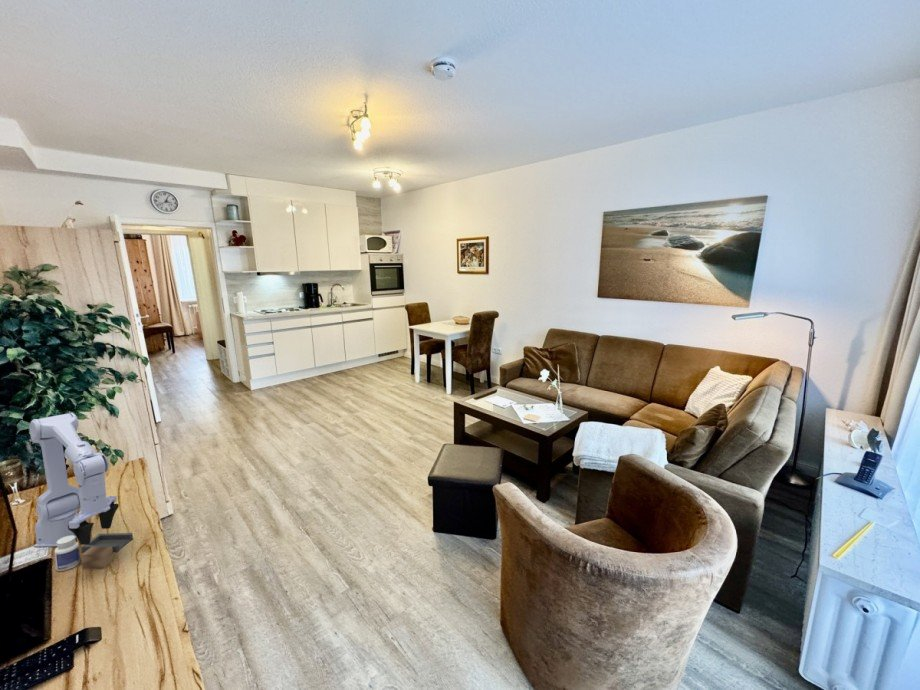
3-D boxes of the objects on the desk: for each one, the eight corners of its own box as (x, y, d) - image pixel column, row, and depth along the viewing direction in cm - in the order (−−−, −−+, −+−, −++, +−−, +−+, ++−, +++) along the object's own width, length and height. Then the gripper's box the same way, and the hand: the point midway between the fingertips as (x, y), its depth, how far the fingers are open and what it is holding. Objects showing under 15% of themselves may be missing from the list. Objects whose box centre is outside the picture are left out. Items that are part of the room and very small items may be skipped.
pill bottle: (84, 562, 117) (82, 536, 116) (62, 573, 112) (59, 546, 111) (73, 557, 119) (71, 532, 118) (51, 568, 114) (49, 542, 113)
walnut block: (82, 569, 114) (81, 554, 114) (92, 561, 118) (91, 546, 117) (104, 568, 115) (103, 554, 115) (113, 560, 119) (112, 546, 118)
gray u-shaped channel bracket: (81, 553, 121) (80, 547, 121) (99, 539, 128) (99, 533, 128) (116, 552, 122) (116, 546, 122) (132, 538, 129) (132, 533, 129)
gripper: (86, 508, 107) (89, 551, 109) (125, 483, 121) (128, 521, 123) (59, 508, 106) (63, 551, 108) (102, 483, 120) (104, 521, 122)
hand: (96, 535), depth 115 cm, fingers open, 7 cm apart
